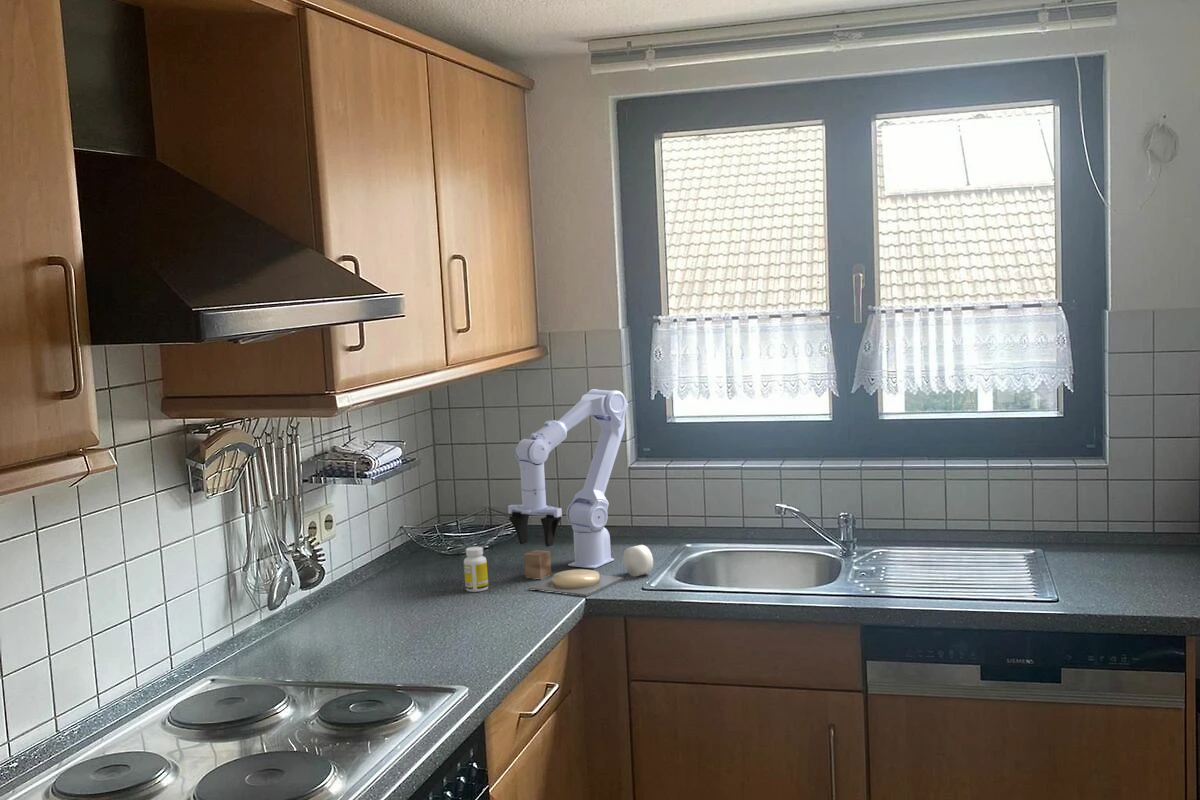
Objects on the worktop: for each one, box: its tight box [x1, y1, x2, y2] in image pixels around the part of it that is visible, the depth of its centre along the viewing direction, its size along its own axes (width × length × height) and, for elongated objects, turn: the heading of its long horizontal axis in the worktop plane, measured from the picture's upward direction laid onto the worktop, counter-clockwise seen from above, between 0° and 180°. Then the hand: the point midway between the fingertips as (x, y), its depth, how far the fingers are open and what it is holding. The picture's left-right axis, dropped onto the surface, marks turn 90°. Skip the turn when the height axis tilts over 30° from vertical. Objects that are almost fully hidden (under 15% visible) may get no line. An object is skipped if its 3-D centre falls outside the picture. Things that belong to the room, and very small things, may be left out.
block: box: [523, 549, 552, 579], centre depth 284 cm, size 4×4×6 cm
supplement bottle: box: [463, 546, 489, 593], centre depth 275 cm, size 5×5×10 cm
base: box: [527, 568, 624, 597], centre depth 275 cm, size 16×16×2 cm
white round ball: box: [622, 544, 654, 577], centre depth 281 cm, size 7×7×4 cm
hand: (536, 544), depth 284 cm, fingers open, 7 cm apart
